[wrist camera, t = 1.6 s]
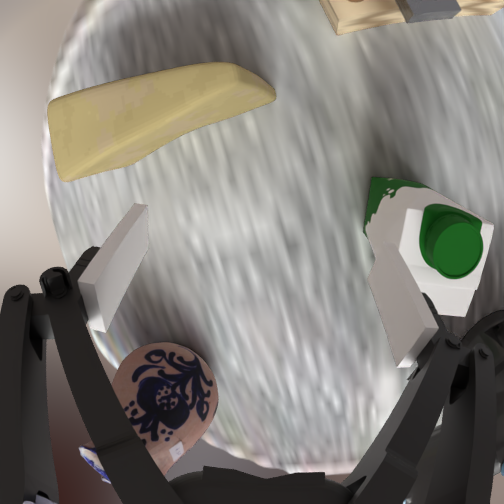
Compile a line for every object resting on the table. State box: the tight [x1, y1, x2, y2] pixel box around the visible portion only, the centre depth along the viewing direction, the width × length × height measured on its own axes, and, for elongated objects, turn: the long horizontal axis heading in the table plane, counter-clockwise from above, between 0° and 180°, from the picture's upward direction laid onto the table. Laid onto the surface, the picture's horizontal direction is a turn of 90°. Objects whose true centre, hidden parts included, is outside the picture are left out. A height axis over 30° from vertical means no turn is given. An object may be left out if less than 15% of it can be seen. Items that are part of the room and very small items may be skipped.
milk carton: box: [363, 177, 494, 317], centre depth 27 cm, size 9×9×20 cm
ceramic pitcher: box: [79, 342, 218, 483], centre depth 43 cm, size 18×21×25 cm
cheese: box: [47, 62, 276, 182], centre depth 30 cm, size 22×10×15 cm, turn 101°
